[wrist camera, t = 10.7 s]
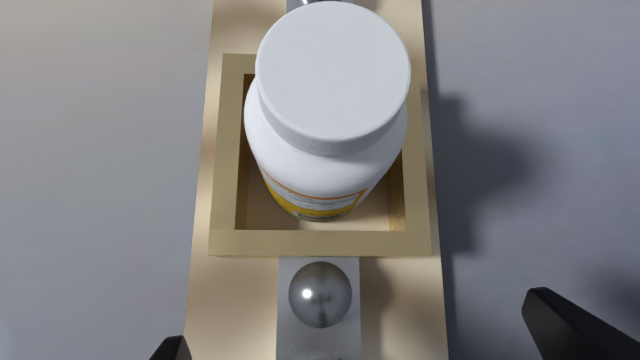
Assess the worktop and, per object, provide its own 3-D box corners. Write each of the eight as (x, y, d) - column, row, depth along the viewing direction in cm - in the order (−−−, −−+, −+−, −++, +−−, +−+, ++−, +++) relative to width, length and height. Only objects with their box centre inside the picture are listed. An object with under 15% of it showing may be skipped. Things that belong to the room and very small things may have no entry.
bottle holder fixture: (419, 422, 16) (446, 455, 13) (211, 425, 15) (191, 460, 13) (394, -17, 22) (409, -62, 19) (242, -23, 21) (232, -71, 18)
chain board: (446, 437, 17) (455, 447, 16) (181, 442, 16) (173, 453, 15) (413, -17, 23) (418, -30, 22) (220, -25, 22) (217, -39, 21)
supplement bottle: (322, 103, 19) (342, -58, 10) (392, 177, 19) (484, 78, 9) (242, 165, 18) (180, 51, 9) (312, 247, 17) (324, 216, 8)
